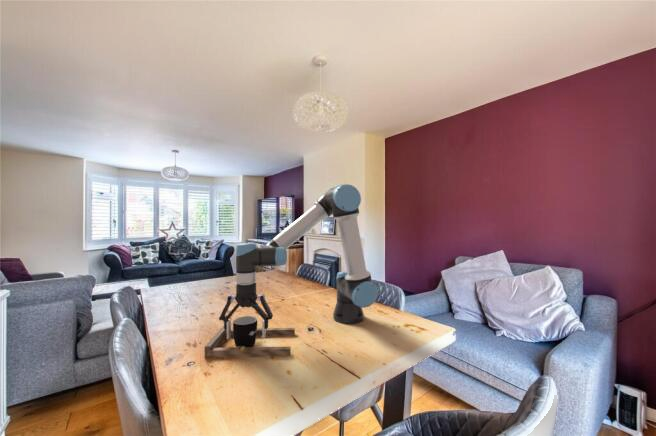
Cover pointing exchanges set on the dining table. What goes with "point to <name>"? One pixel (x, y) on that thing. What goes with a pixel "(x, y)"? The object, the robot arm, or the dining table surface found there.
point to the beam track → (243, 351)
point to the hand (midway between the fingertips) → (246, 337)
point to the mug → (245, 331)
